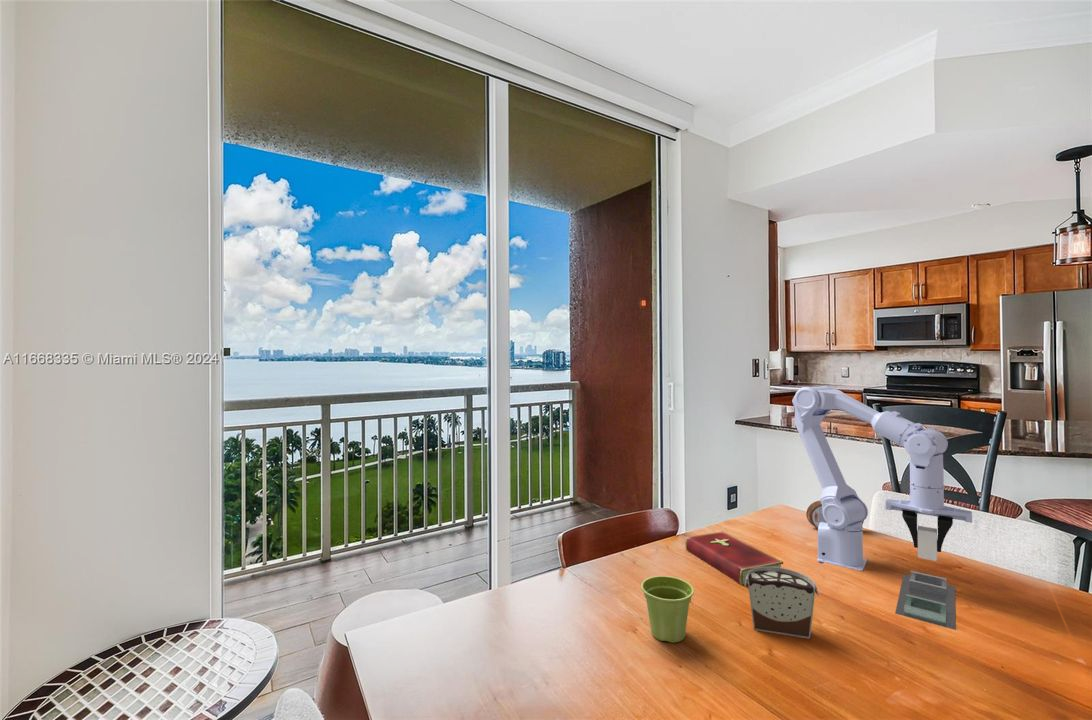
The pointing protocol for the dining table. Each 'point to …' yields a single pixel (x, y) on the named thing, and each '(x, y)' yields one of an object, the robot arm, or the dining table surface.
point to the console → (927, 599)
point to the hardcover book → (729, 554)
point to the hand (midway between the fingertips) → (927, 548)
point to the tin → (816, 514)
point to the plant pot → (667, 606)
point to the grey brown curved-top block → (781, 601)
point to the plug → (927, 543)
